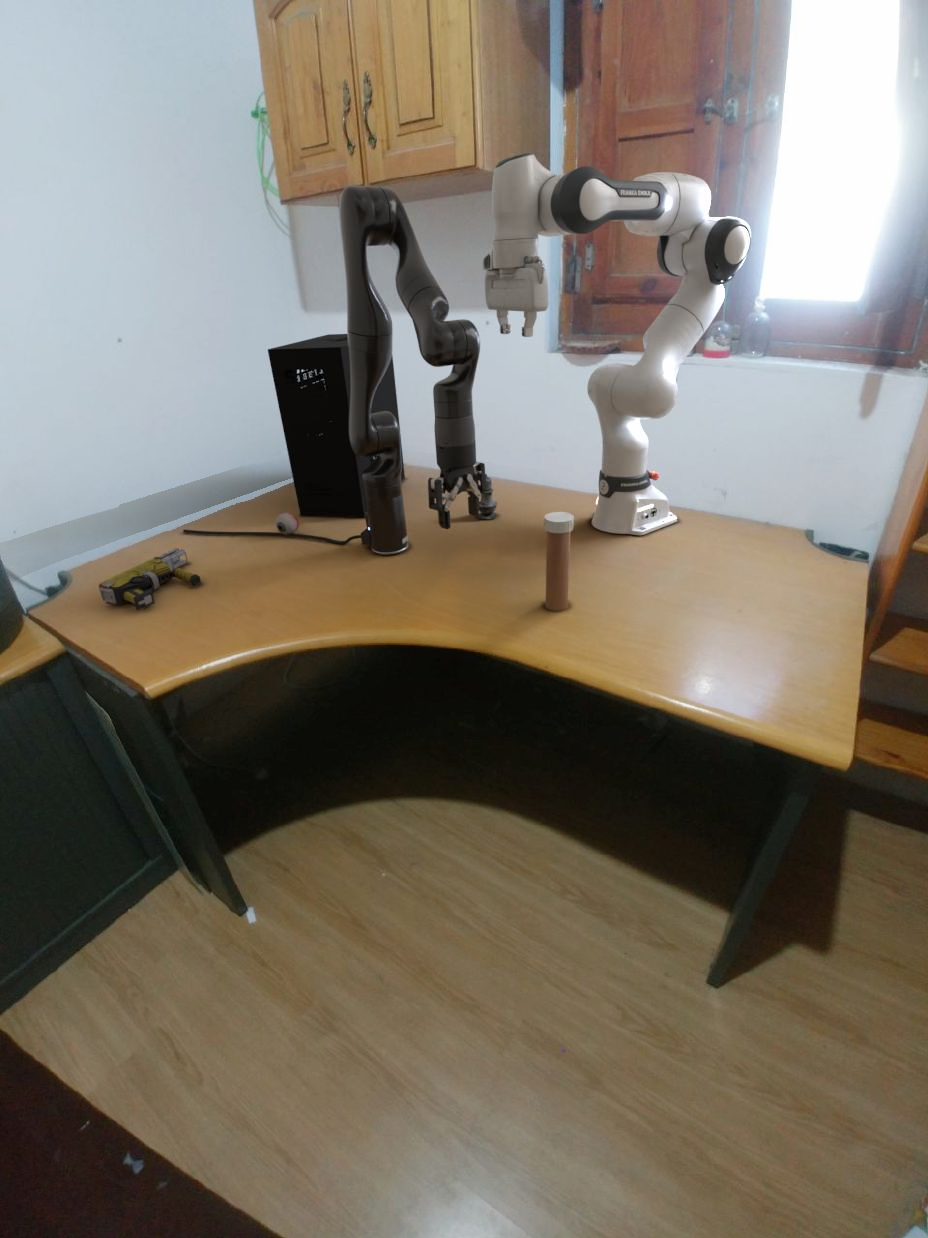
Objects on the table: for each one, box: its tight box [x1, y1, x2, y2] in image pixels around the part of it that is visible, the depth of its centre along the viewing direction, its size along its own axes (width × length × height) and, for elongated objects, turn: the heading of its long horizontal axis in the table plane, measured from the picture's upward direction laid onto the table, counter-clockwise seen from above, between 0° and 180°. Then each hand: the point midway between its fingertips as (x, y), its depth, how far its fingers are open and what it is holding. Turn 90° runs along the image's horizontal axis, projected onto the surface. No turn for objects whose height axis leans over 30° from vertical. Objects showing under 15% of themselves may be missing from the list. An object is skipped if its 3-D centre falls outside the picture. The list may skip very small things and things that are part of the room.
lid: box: [543, 511, 575, 533], centre depth 114 cm, size 6×6×2 cm
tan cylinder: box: [544, 531, 572, 612], centre depth 118 cm, size 4×4×19 cm
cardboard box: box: [267, 333, 406, 518], centre depth 180 cm, size 38×20×45 cm, turn 167°
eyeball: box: [275, 511, 300, 534], centre depth 163 cm, size 6×6×6 cm
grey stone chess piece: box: [477, 473, 498, 520], centre depth 166 cm, size 6×6×12 cm
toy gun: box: [98, 547, 202, 611], centre depth 139 cm, size 5×24×15 cm
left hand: (459, 521), depth 121 cm, fingers open, 8 cm apart
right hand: (516, 335), depth 125 cm, fingers open, 8 cm apart
